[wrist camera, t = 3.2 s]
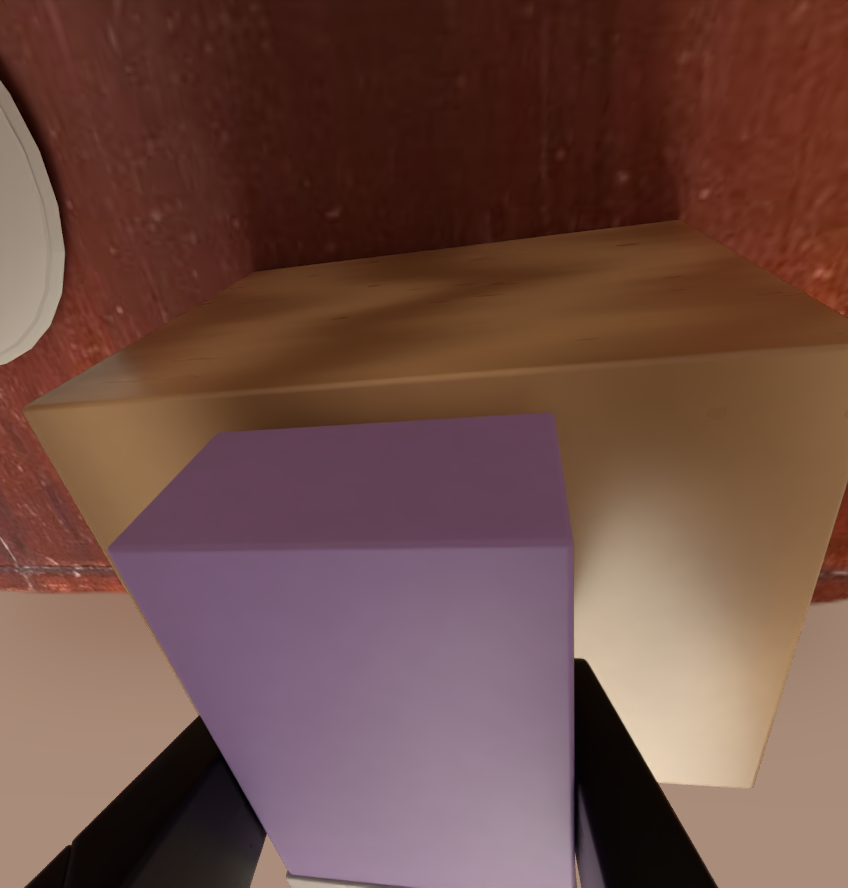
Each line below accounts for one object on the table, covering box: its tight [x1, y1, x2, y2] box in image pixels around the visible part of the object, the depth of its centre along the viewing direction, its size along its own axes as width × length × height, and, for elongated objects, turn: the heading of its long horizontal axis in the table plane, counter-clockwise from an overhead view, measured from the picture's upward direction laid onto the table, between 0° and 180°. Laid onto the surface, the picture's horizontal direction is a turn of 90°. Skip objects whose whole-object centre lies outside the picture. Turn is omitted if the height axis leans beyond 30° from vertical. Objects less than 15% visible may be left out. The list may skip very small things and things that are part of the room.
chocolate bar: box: [108, 412, 577, 888], centre depth 8 cm, size 5×9×2 cm, turn 8°
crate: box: [22, 220, 848, 789], centre depth 13 cm, size 12×10×9 cm
